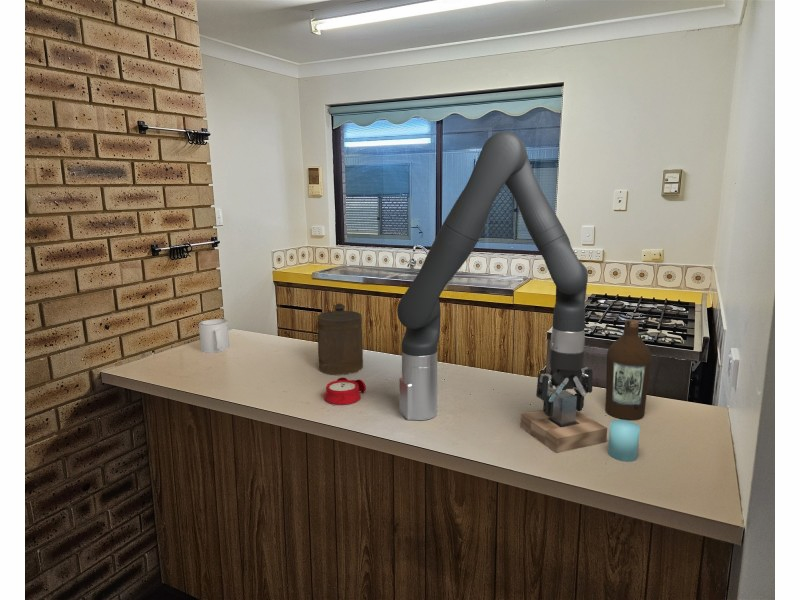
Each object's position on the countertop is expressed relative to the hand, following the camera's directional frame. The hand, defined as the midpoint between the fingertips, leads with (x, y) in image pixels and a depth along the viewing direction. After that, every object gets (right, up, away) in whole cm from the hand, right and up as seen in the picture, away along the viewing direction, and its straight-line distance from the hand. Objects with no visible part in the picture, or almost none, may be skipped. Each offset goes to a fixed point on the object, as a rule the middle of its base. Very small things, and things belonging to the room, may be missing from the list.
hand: (563, 412), depth 122 cm
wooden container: (-59, +4, +51) cm, 78 cm away
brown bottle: (+20, -3, +13) cm, 24 cm away
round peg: (+10, -7, -9) cm, 15 cm away
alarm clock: (-55, -1, +26) cm, 61 cm away
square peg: (0, -5, +1) cm, 5 cm away
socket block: (0, -6, +1) cm, 6 cm away
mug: (-109, +8, +72) cm, 131 cm away
